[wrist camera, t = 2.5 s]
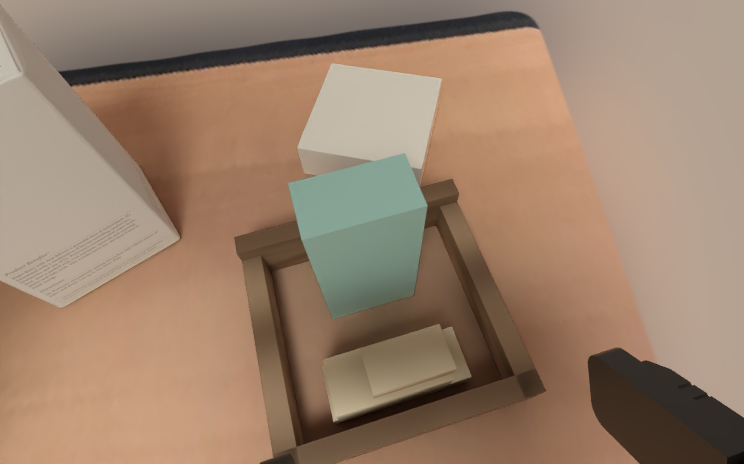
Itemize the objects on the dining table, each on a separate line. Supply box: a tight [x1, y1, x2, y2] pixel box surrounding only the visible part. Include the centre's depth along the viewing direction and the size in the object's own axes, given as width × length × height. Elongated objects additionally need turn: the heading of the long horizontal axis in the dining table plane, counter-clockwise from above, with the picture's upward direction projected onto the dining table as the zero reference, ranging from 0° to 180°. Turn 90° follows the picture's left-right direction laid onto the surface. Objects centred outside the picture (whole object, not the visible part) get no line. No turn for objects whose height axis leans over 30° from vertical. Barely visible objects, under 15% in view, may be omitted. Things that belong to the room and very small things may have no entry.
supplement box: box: [0, 5, 180, 308], centre depth 24 cm, size 9×9×15 cm
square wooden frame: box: [234, 179, 546, 464], centre depth 25 cm, size 14×14×4 cm
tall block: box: [288, 153, 427, 319], centre depth 23 cm, size 3×6×11 cm, turn 107°
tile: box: [297, 63, 442, 187], centre depth 33 cm, size 9×9×3 cm
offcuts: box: [321, 324, 472, 424], centre depth 23 cm, size 3×8×4 cm, turn 107°
